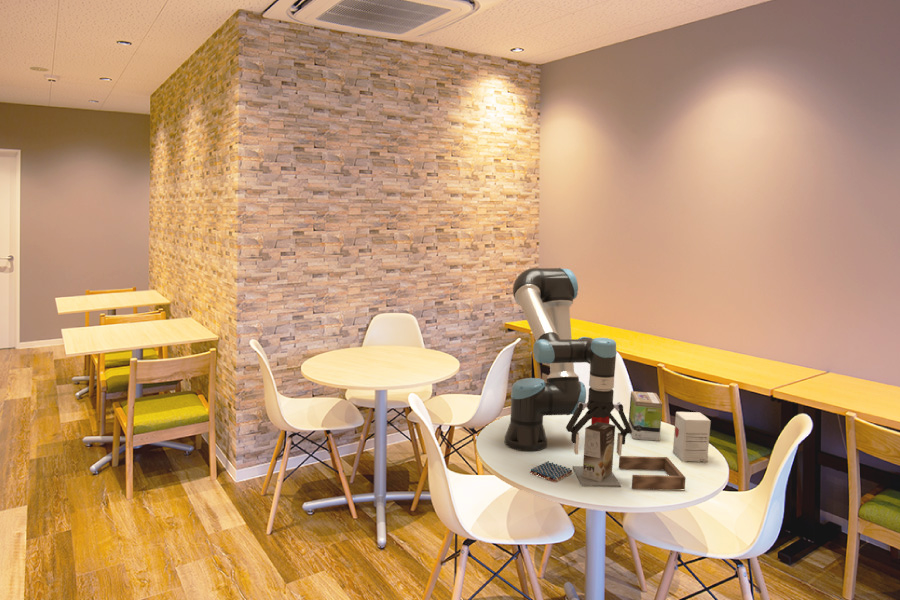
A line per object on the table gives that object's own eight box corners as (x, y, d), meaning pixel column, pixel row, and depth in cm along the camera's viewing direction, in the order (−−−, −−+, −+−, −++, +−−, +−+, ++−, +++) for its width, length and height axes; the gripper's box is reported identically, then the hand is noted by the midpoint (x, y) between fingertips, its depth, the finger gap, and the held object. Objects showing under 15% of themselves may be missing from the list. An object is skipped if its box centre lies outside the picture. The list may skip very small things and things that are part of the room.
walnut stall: (632, 488, 191) (633, 476, 191) (618, 467, 207) (619, 456, 207) (684, 490, 191) (685, 477, 191) (666, 468, 207) (667, 457, 207)
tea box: (660, 441, 233) (663, 403, 231) (632, 439, 234) (635, 401, 232) (653, 428, 247) (656, 391, 245) (627, 426, 249) (630, 390, 247)
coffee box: (600, 482, 194) (603, 432, 191) (581, 477, 197) (584, 428, 195) (612, 473, 201) (615, 425, 199) (594, 468, 205) (596, 420, 202)
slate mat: (581, 486, 192) (581, 484, 192) (572, 467, 206) (572, 466, 206) (620, 487, 192) (620, 485, 192) (609, 468, 206) (609, 466, 206)
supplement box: (671, 452, 223) (675, 411, 220) (696, 452, 223) (700, 411, 221) (681, 462, 214) (685, 419, 212) (707, 462, 214) (711, 420, 212)
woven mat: (527, 474, 201) (527, 468, 201) (546, 465, 209) (547, 460, 208) (555, 484, 194) (555, 478, 194) (573, 475, 201) (574, 469, 201)
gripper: (563, 390, 191) (559, 456, 194) (644, 392, 192) (640, 458, 194) (559, 383, 199) (555, 448, 202) (637, 385, 199) (633, 449, 202)
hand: (597, 453), depth 198 cm, fingers open, 13 cm apart
